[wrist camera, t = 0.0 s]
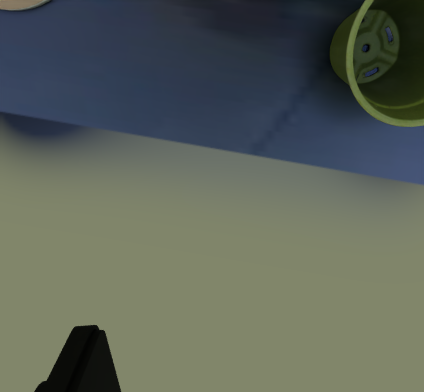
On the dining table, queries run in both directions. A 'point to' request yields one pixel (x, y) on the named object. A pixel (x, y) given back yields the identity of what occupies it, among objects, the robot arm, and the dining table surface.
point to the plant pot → (384, 59)
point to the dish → (21, 4)
